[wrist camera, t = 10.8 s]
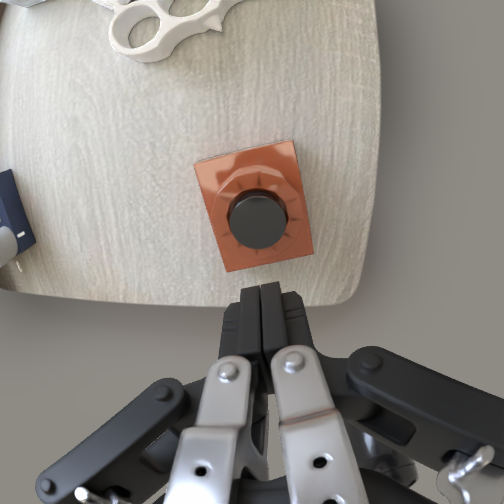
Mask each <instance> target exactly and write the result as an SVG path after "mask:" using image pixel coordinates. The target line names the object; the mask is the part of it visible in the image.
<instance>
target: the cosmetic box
mask: <svg viewBox="0 0 504 504" xmlns="http://www.w3.org/2000/svg"><path fill="white" fill-rule="evenodd" d="M44 1H47V0H0V2H3V3H9V4H13V5H18V6H22V7H26V8H27V7H30V6H33V5H35V4H38V3H41V2H44Z"/></svg>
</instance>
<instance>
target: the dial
mask: <svg viewBox="0 0 504 504" xmlns="http://www.w3.org/2000/svg"><path fill="white" fill-rule="evenodd" d="M17 251H18V246H17V241H16V238H15V236H14V234H13V232H12V231H11V230H10V229H9V228H8V227H6V226H3V227H1V228H0V268H1V267H2V266H3V265H5V264H6V263H7V262H8V261H9V260H11V259H12V258H13V257H14V256H16V254H17Z"/></svg>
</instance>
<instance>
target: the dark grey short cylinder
mask: <svg viewBox="0 0 504 504" xmlns="http://www.w3.org/2000/svg"><path fill="white" fill-rule="evenodd" d="M230 229H231V232H232V234H233V236H234V237H235V239H236V240H237V241H238V242H239V243H240V244H242V245H243V246H246V247H248V248H251V249H264V248H268V247H270V246H272V245H274V244H275V243H277V242H278V241H279V240H280V239H281V237H282V236H283V234H284V232H285V229H286V217H285V213H284V211H283V208H282V205H281V204H280V202H279V201H278V199H277V198H276V197H274V196H273V195H271V194H270V193H267V192H264V191H252V192H248V193H246V194H244V195H242V196H241V197H240V198H239V199H238V200H237V201H236V202H235V204H234V206H233V209H232V213H231V217H230Z"/></svg>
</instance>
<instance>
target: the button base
mask: <svg viewBox="0 0 504 504" xmlns="http://www.w3.org/2000/svg"><path fill="white" fill-rule="evenodd" d="M194 169H195V172H196V175H197V179H198V182H199V186H200V189H201V192H202V196H203V199H204V202H205V206H206V209H207V212H208V215H209V219H210V222H211V225H212V228H213V231H214V235H215V238H216V241H217V244H218V247H219V250H220V254H221V257H222V260H223V263H224V266H225V269H226V272H231V271H236V270H241V269H246V268H251V267H255V266H260V265H265V264H269V263H274V262H279V261H283V260H288V259H293V258H297V257H302V256H306V255H311V254H314V250H313V243H312V237H311V231H310V225H309V219H308V213H307V208H306V202H305V197H304V191H303V186H302V181H301V176H300V171H299V166H298V161H297V157H296V152H295V147H294V143H293V140H289V139H287V140H282V141H277V142H273V143H268V144H263V145H259V146H254V147H250V148H246V149H242V150H238V151H234V152H230V153H226V154H222V155H218V156H214V157H211V158H207V159H204V160H200V161H198V162H196V163H195V164H194ZM252 191H264V192H267V193H270V194H271V195H273V196H274V197H276V198H277V199H278V201H279V202H280V204H281V205H282V208H283V211H284V213H285V217H286V229H285V232H284V234H283V236H282V237H281V239H280V240H279V241H278V242H277V243H275V244H274V245H272V246H270V247H268V248H264V249H251V248H248V247H246V246H243V245H242V244H240V243H239V242H238V241H237V240H236V239H235V237H234V236H233V234H232V232H231V229H230V217H231V213H232V209H233V206H234V204H235V202H236V201H237V200H238V199H239V198H240V197H241V196H242V195H244V194H246V193H248V192H252Z"/></svg>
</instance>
